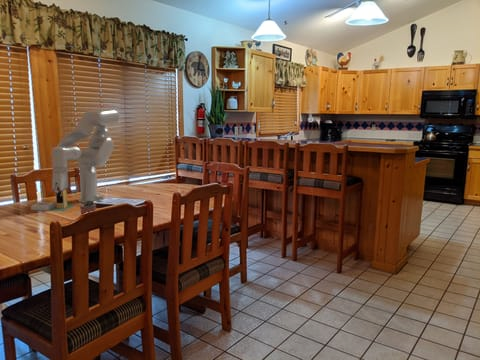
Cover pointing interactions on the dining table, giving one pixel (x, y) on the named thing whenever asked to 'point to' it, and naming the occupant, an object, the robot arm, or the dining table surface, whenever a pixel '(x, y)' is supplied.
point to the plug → (64, 194)
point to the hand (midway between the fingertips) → (61, 201)
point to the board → (48, 206)
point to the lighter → (87, 206)
